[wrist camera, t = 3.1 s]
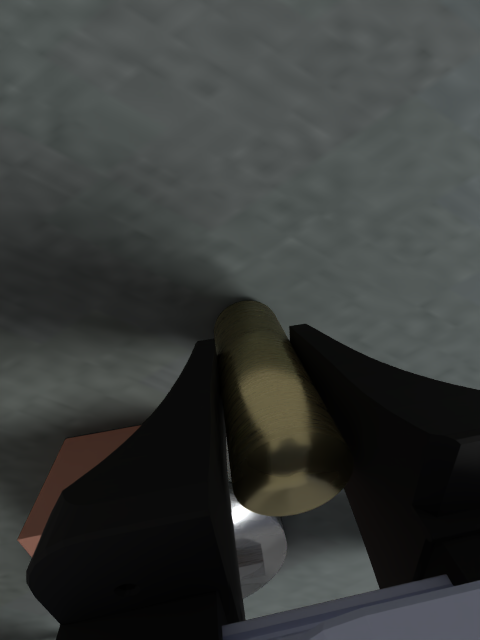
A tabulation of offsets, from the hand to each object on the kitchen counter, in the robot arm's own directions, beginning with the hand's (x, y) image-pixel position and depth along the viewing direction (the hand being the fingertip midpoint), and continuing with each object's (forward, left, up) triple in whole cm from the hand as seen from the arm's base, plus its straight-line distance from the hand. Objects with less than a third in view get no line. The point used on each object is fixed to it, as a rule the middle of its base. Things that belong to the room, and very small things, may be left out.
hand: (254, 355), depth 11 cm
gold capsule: (0, 0, -2) cm, 2 cm away
